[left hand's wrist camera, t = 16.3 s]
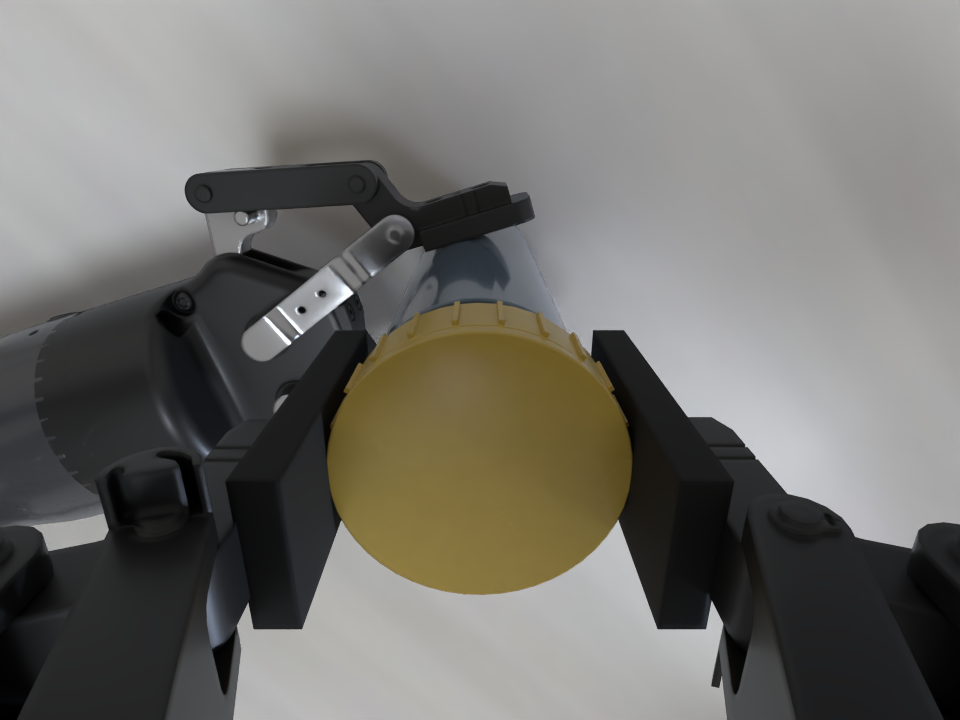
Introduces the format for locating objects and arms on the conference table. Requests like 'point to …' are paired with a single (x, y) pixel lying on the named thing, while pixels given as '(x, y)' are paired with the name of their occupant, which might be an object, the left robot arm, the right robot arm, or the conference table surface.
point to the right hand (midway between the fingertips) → (548, 283)
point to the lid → (479, 450)
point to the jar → (478, 278)
